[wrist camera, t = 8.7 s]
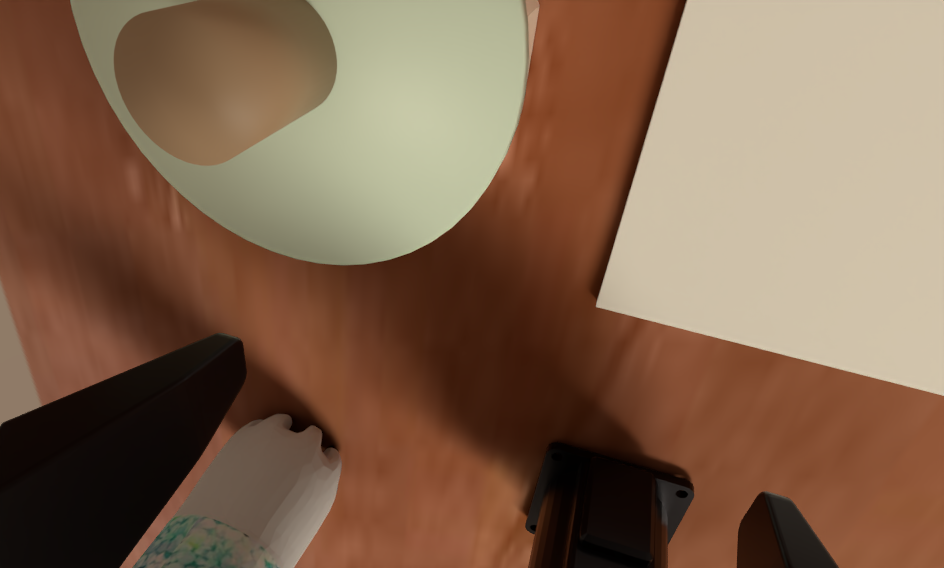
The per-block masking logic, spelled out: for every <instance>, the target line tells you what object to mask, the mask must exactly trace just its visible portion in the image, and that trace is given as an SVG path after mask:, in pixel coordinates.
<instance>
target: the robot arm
mask: <svg viewBox="0 0 944 568" xmlns="http://www.w3.org/2000/svg"><path fill="white" fill-rule="evenodd" d="M246 374H247V369H246V362H245V355H244V347H243V342H242V341H241V339H239V338H238V337H234V336H231V335H227V334H224V333H217V334H214V335H211V336H209V337H206V338H204V339H202V340H199V341H197V342H195V343H192V344H190V345H187V346H185V347H183V348H180V349H178V350H175V351H173V352H171V353H168V354H166V355H163V356H161V357H159V358H156V359H154V360H152V361H149V362H147V363H144V364H142V365H140V366H137V367H135V368H132V369H130V370H128V371H125V372H123V373H120V374H118V375H116V376H113V377H111V378H108V379H106V380H104V381H101V382H99V383H97V384H94V385H92V386H89V387H87V388H85V389H82V390H80V391H77V392H75V393H73V394H70V395H68V396H65V397H63V398H61V399H58V400H56V401H54V402H51V403H49V404H46V405H44V406H42V407H39V408H37V409H34V410H32V411H30V412H27V413H25V414H22V415H20V416H18V417H15V418H13V419H10V420H8V421H6V422H3V423H2V424H1V426H0V568H120V566H121V565H122V563H123V562H124V561H125V559H126V558H127V557H128V555H129V554H130V553H131V551H132V550H133V548H134V547H135V546H136V544H137V543H138V542H139V540H140V539H141V538H142V536H143V535H144V534H145V532H146V531H147V529H148V528H149V527H150V525H151V524H152V523H153V521H154V520H155V519H156V517H157V516H158V514H159V513H160V512H161V510H162V509H163V508H164V506H165V505H166V504H167V502H168V501H169V499H170V498H171V497H172V495H173V494H174V493H175V491H176V490H177V489H178V487H179V486H180V485H181V483H182V482H183V480H184V479H185V478H186V476H187V475H188V474H189V472H190V471H191V470H192V468H193V467H194V465H195V464H196V463H197V461H198V460H199V458H200V457H201V455H202V454H203V452H204V451H205V449H206V447H207V446H208V444H209V442H210V441H211V439H212V437H213V436H214V434H215V432H216V431H217V429H218V427H219V425H220V424H221V422H222V420H223V419H224V417H225V415H226V413H227V412H228V410H229V408H230V407H231V405H232V403H233V401H234V400H235V398H236V396H237V395H238V393H239V391H240V389H241V388H242V386H243V384H244V382H245V379H246ZM556 453H559V454H556ZM681 490H684V491H681ZM693 498H694V486H693V484H692V483H691V482H690V481H687V480H685V479H682V478H678V477H675V476H671V475H668V474H665V473H661V472H658V471H654V470H651V469H648V468H644V467H641V466H637V465H634V464H631V463H627V462H624V461H620V460H617V459H614V458H610V457H607V456H603V455H600V454H597V453H593V452H590V451H586V450H583V449H579V448H576V447H573V446H569V445H566V444H562V443H558V442H555V443H551V444H549V446H548V447H547V451H546V454H545V458H544V461H543V465H542V468H541V472H540V475H539V478H538V482H537V485H536V489H535V492H534V496H533V499H532V503H531V506H530V509H529V513H528V516H527V520H526V525H525V528H526V529H527V531H529V532H530V533H532V534H535V537H534V542H533V547H532V552H531V556H530V561H529V566H528V568H668V544H669V542H670V540H671V538H672V536H673V534H674V533H675V531H676V529H677V527H678V525H679V523H680V522H681V520H682V518H683V516H684V514H685V512H686V511H687V509H688V507H689V505H690V503H691V501H692V500H693ZM737 568H839V567H838V565H837V564H836V563H835V561H834V560H833V558H832V557H831V555H830V554H829V553H828V551H827V550H826V548H825V547H824V545H823V544H822V542H821V541H820V540H819V538H818V537H817V535H816V534H815V532H814V531H813V530H812V528H811V527H810V525H809V524H808V522H807V521H806V520H805V518H804V517H803V515H802V514H801V512H800V511H799V509H798V508H797V507H796V505H795V504H794V503H793V502H792V501H791V500H790V499H789V498H787V497H784V496H781V495H777V494H774V493H770V492H767V491H764V492H761V493H760V494H759V495H758V496H757V497H756V499H755V500H754V502H753V504H752V505H751V507H750V508H749V510H748V511H747V513H746V514H745V516H744V517H743V519H742V521H741V523H740V526H739V531H738V549H737Z"/></svg>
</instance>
